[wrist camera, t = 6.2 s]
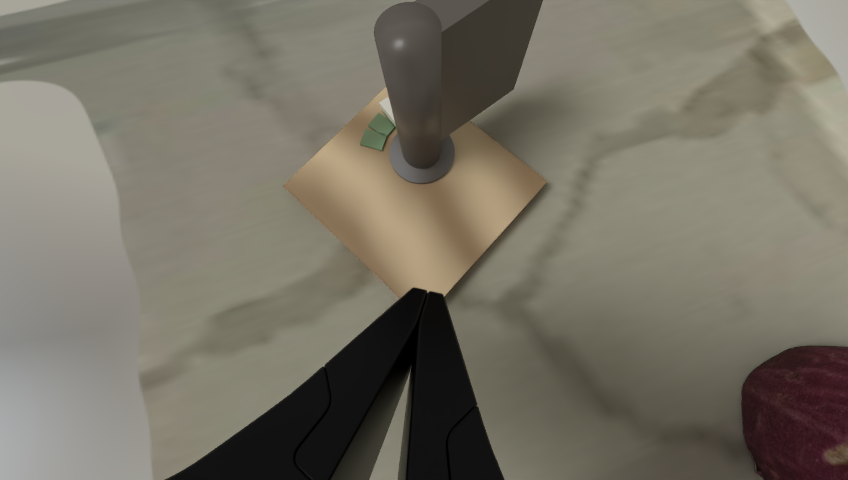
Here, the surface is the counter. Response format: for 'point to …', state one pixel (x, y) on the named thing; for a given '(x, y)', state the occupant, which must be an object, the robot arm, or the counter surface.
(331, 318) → the counter surface
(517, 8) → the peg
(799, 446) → the vegetable
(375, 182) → the wooden board
